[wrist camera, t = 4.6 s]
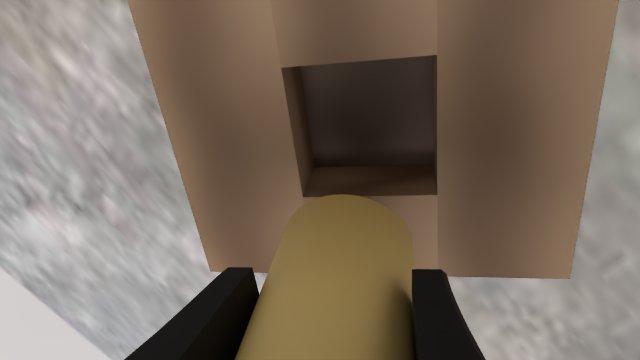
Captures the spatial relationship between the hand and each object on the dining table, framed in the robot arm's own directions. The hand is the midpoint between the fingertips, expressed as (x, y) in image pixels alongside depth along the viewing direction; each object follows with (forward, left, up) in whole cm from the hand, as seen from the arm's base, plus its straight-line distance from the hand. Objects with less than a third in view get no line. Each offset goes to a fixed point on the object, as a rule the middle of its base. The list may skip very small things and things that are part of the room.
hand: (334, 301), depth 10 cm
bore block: (0, -1, -9) cm, 9 cm away
